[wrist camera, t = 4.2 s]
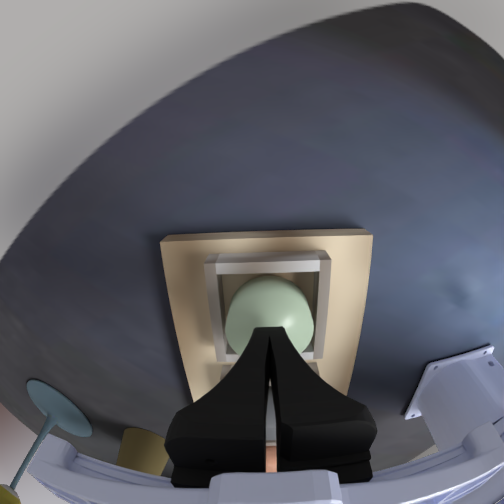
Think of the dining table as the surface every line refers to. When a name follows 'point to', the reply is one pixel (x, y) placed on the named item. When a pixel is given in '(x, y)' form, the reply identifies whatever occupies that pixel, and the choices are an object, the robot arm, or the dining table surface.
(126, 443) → the cork
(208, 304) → the button board
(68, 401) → the cocktail glass
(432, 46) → the dining table surface
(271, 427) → the charcoal button
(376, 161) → the dining table surface
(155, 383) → the dining table surface
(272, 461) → the terracotta button
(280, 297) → the sage button
